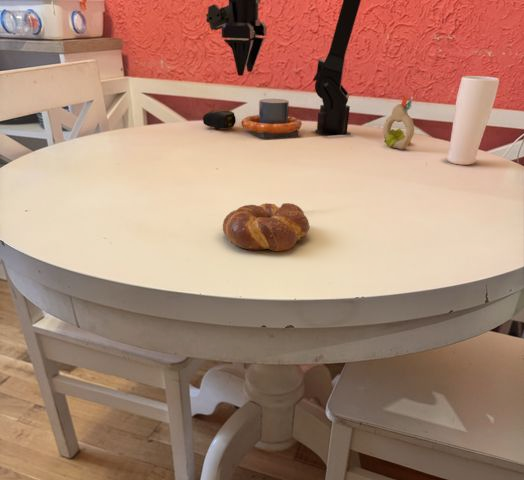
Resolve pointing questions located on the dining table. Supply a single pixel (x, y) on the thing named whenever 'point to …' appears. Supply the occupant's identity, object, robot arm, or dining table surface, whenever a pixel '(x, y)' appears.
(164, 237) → the dining table surface
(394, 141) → the beige hollow ornament
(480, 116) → the drinking glass
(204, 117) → the tape measure
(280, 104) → the cup stand
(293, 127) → the ring
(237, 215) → the pretzel
